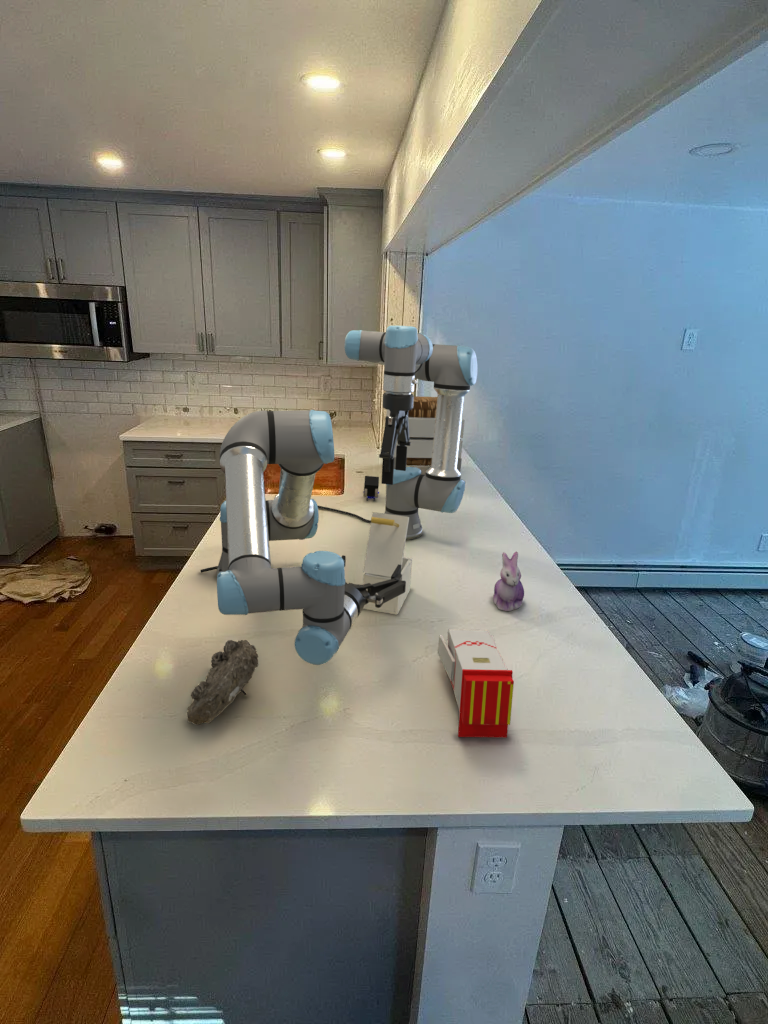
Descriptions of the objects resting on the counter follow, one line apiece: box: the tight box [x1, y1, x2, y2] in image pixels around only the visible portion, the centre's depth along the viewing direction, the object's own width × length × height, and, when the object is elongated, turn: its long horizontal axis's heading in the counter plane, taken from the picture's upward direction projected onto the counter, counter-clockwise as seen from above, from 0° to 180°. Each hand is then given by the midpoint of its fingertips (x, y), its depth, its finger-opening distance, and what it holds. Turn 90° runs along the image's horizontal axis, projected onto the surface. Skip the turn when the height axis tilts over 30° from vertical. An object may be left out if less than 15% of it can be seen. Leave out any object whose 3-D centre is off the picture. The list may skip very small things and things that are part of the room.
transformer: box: [385, 395, 465, 474], centre depth 268 cm, size 34×33×41 cm
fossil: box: [186, 639, 259, 726], centre depth 113 cm, size 22×10×15 cm
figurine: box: [492, 551, 525, 612], centre depth 152 cm, size 9×10×15 cm
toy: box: [437, 628, 515, 738], centre depth 117 cm, size 12×13×30 cm
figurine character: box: [362, 475, 380, 502], centre depth 236 cm, size 7×8×15 cm
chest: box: [362, 556, 413, 616], centre depth 153 cm, size 15×10×10 cm, turn 165°
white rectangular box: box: [362, 511, 409, 577], centre depth 142 cm, size 16×10×9 cm
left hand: (371, 565), depth 133 cm, fingers open, 13 cm apart
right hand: (394, 476), depth 145 cm, fingers open, 13 cm apart
